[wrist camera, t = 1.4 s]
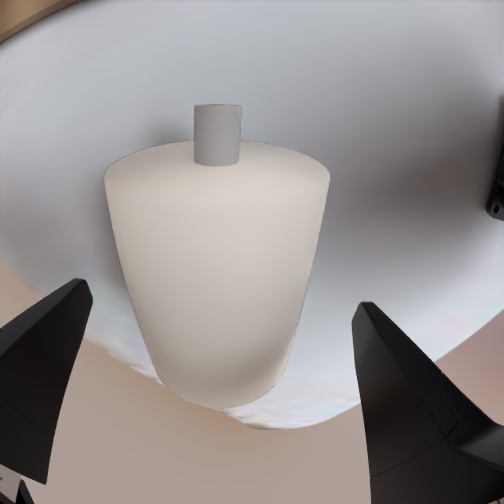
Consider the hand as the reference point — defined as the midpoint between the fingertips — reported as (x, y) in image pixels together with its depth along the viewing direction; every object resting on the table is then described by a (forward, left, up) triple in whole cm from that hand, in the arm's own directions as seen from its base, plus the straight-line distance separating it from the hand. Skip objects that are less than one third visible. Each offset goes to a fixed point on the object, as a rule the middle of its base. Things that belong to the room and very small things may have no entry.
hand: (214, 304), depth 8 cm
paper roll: (0, 0, -1) cm, 1 cm away
